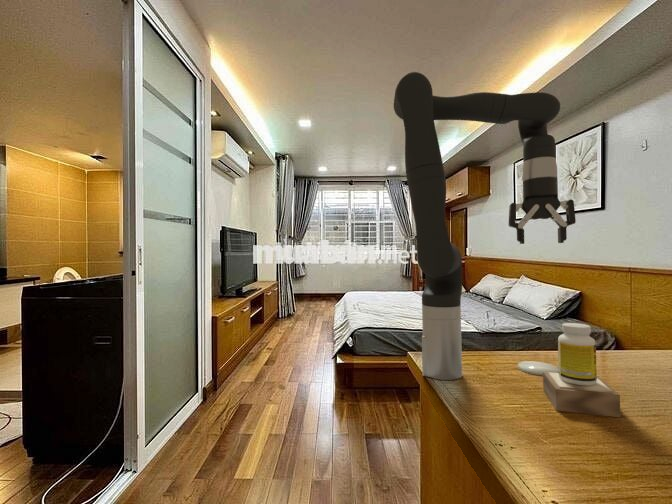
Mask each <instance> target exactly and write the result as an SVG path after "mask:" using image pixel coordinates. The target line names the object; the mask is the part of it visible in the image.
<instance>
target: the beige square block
mask: <svg viewBox="0 0 672 504" xmlns="http://www.w3.org/2000/svg"><path fill="white" fill-rule="evenodd" d="M542 382H543V383H542V385H543V389H542V390H543V392H544V394H545V396H546V397H547V399H548V400H549V401H550V403H551V405H552V406H553V407H554V409H555V410H556V412H557V411H558V412H560V411H561V412H567V413H577V414H584V415H585V414H587V415H595V416H605V417H614V418H621V395H620V393H618V392H617V391H616V390H614V389H613V387H611V386H610V385H609V384H607V383H606V382H605V381H604V380H603V379H602V378H600V377H599V376H597V382H596V384H594V385H591V386H583V385H575V384H571V383H567V382H565V381H563V380H561V379H560V377H559V373H551V372H543V376H542Z"/></svg>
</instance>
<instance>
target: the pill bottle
mask: <svg viewBox="0 0 672 504" xmlns="http://www.w3.org/2000/svg"><path fill="white" fill-rule="evenodd" d="M591 329H592V328H591V325H588V324H584V323H577V322H576V323H574V322H564V323H562V324H561V330H562V332H563V333H562V334H560V335H559V336H558V338H557V355H558V356H557V357H558V359H557V361H558V368H559V377H560V379H561V380H563V381H565V382H567V383H571V384H575V385H583V386H591V385H594V384H596V382H597V371H598V370H597V344H596V340H595V339H594V338H593V337H592V336H590V335H591V332H592V330H591Z"/></svg>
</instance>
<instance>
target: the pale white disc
mask: <svg viewBox="0 0 672 504" xmlns="http://www.w3.org/2000/svg"><path fill="white" fill-rule="evenodd" d="M517 369H518V370H519V371H521V372H524V373H527V374H530V375H536V376H542V377H543V372H551V373H559V366H555V365H554V364H551V363H548V362H541V361H535V360H534V361H532V360H530V361H529V360H527V361H525V360H524V361H520V362H518V364H517Z"/></svg>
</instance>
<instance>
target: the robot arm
mask: <svg viewBox="0 0 672 504" xmlns="http://www.w3.org/2000/svg"><path fill="white" fill-rule="evenodd" d="M560 110H561V102H560V100H559V99H558V98H557V97H556V96H555V95H553V94H551V93H548V92H541V91H540V92H537V91H536V92H525V93H516V94H506V93H498V92H488V91H486V92H483V91H479V92H478V91H477V92H471V93H466V94H460V95H453V96H440V95H434V93H433V86H432V84H431V82H430V80H429V79H428V78H427V77H426V76H425V74H422V73H420V72H419V71H412V72H408V73H406V74H405V75H403V76H402V77H401V79H400V80H399V81H398V83H397V84H396V88H395V90H394V99H393V111H394V113H395V115H396V116H397V117H398V118H399V119H400V120H402V121H403V127H404V138H405V139H404V164H405V165H404V167H405V176H406V181H407V182H406V183H407V188H408V193H409V197H410V203H411V210H412V213H413V218H414V225H415V233H416V234H415V235H416V255H417V257H416V259H417V263H418V266H419V268H420V270H421V272H422V273H423V274H424V275H425V280H424V284H425V285H424V290H423V291H422V295H421V313H422V316H421V317H422V318H421V319H422V335H421V360H422V361H421V364H422V365H421V368H422V376H423V377H429V378H431V379H434V380H435V379H436V380H442V381H452V380H458V379H461V378H462V377H463V354H462V351H463V350H462V349H463V348H462V313H461V312H462V307H461V301H462V300H461V298H462V293H463V262H462V261H463V258H462V253H461V251H460V249H459V248H458V247H457V246H456V245H455V244H454V243H452V242H451V238H450V236H449V232H448V227H447V221H446V203H447V202H446V201H447V180H446V174H445V169H444V168H445V167H444V163H443V158H442V154H441V153H442V152H441V147H440V143H439V139H438V135H437V130H436V126H435V125H436V124H435V121H469V122H478V123H487V124H496V125H505V124H508V123H511V122H513V121H514V122H515V121H517V125H518V126H517V127H518V133H519V136H520V140H521V143H522V147H523V149H522V154H523V155H522V157H523V158H522V161H523V165H522V176H521V177H522V179H521V180H522V202H521V203H516V202H511V203H510V204H509V207H508V210H509V211H508V227H510V228H513V229H514V228H515V229H516V240H517V242H519V244H520V245H521V244H522V245H523V244H525V229H524V227H525V225H526V224H527V223H528V222H529V220H530V219H531V220H534V221H535V220H548V219H550V220H551V221H552V222H554V223H555V225H557V226H558V228H557V242H558V244H564V241H566V240H567V228H568V227H569V226H571V225H574V224H576V222H577V220H576V212H575V201H574V200H573V199H568V200H563V201H562V200H561V201H560V200H559V189H558V187H559V186H558V185H559V183H558V182H559V181H558V165H557V156H556V155H557V149H556V139H555V137H554V136H553V135H551V134H548V133H549V132H548V128H547V127H548V124H549V123H550V122H551V121H553V120H554V119H555V118H556V117H557V116H558V115H559V113H560ZM560 207H561V208H562V210H564V211H565V218H566V219H565V220H564V219H563V217H562V216H561V214H559V212H557V211H558V209H559V208H560ZM520 209H522V211H523V212H524V213H525V214H524V216H523V217H522V218H521V220H520V221H519V222H516V219H517V218H516V215H517V213H518V212H519V210H520Z"/></svg>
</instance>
